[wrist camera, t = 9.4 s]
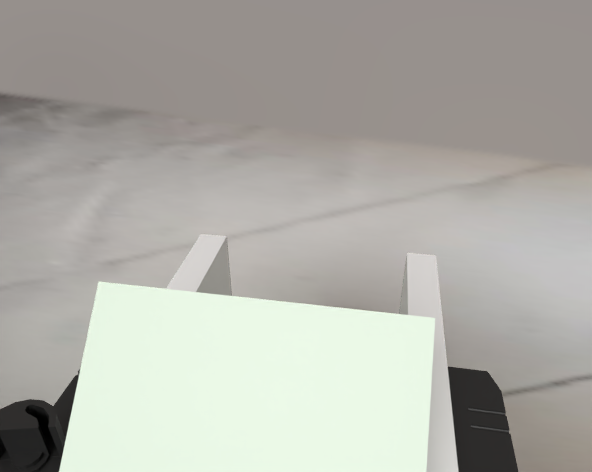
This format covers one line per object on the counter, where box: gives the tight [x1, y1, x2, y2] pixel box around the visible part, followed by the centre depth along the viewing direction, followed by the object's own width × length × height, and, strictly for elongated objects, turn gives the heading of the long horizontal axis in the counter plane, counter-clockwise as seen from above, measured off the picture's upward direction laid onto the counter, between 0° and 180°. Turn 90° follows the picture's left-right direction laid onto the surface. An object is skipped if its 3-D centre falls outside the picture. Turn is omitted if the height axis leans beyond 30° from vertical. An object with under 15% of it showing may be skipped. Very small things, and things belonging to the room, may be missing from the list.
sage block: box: [59, 282, 435, 472], centre depth 12 cm, size 5×5×11 cm
